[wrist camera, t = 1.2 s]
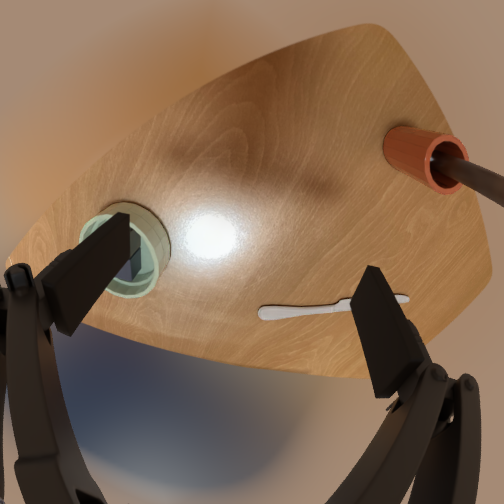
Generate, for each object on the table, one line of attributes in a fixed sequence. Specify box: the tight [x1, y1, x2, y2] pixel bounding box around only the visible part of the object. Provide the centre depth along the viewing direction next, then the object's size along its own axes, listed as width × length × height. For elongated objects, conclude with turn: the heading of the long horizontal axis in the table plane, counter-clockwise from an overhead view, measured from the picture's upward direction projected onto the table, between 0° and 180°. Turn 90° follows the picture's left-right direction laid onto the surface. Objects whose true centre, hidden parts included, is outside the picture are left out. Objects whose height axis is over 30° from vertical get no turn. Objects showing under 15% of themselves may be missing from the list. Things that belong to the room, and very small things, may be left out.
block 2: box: [130, 227, 141, 257], centre depth 33 cm, size 4×4×4 cm
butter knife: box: [258, 295, 409, 320], centre depth 38 cm, size 1×24×3 cm
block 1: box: [115, 247, 141, 282], centre depth 35 cm, size 4×4×4 cm
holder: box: [383, 126, 469, 195], centre depth 23 cm, size 6×6×10 cm
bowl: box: [79, 202, 170, 298], centre depth 34 cm, size 12×12×5 cm
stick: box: [430, 150, 504, 207], centre depth 17 cm, size 2×2×22 cm
